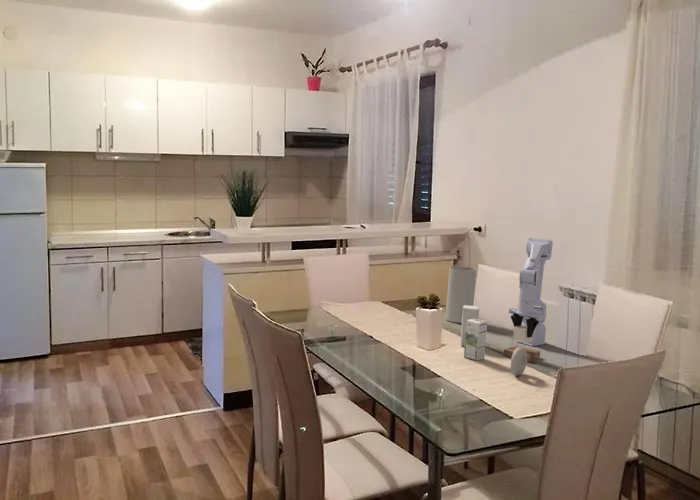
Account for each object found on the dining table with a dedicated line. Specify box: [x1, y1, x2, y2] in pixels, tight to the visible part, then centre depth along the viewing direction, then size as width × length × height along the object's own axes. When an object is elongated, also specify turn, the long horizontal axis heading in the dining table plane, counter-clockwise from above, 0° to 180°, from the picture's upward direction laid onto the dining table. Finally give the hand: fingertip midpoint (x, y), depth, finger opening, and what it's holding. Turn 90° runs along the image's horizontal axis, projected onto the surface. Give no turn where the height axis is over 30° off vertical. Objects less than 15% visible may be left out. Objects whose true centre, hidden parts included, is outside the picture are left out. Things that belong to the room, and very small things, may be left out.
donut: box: [510, 346, 528, 377], centre depth 228 cm, size 10×4×10 cm, turn 147°
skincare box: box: [460, 305, 480, 347], centre depth 266 cm, size 8×7×16 cm
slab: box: [502, 345, 541, 363], centre depth 253 cm, size 10×10×3 cm
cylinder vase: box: [445, 265, 477, 324], centre depth 309 cm, size 12×12×25 cm
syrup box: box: [463, 319, 488, 361], centre depth 246 cm, size 6×6×14 cm
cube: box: [512, 324, 533, 344], centre depth 252 cm, size 5×5×5 cm
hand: (523, 335), depth 252 cm, fingers closed on cube, 5 cm apart
